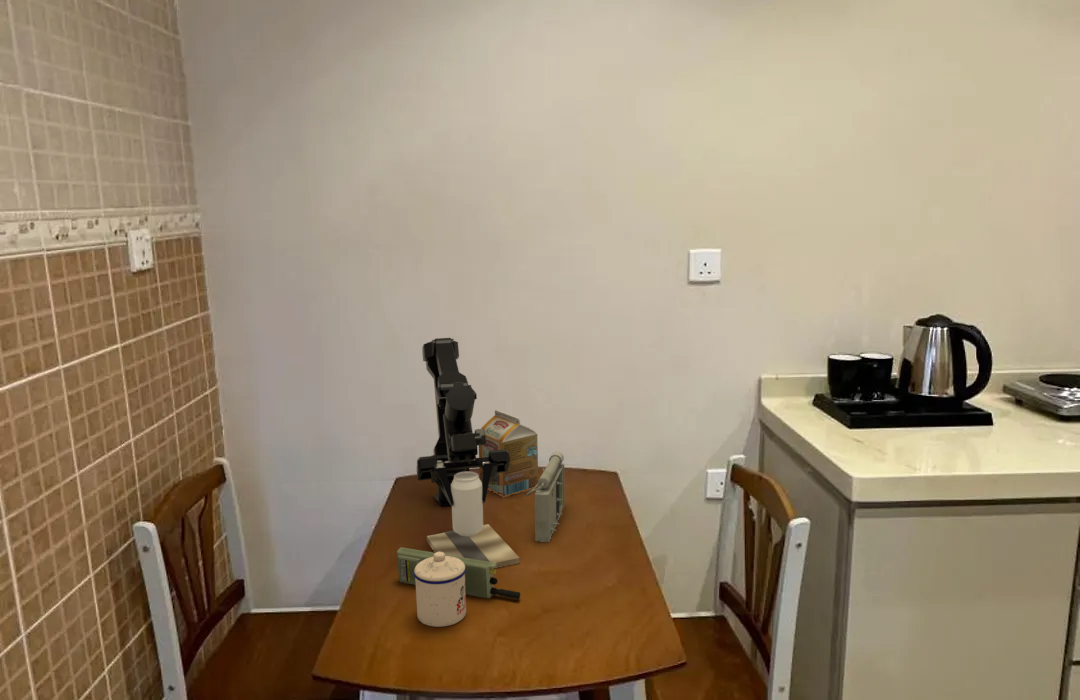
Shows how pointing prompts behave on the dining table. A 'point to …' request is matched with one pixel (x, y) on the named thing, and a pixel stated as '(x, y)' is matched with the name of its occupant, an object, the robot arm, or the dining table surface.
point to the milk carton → (511, 453)
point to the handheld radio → (475, 576)
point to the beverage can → (467, 503)
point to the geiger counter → (549, 498)
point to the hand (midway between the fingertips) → (468, 503)
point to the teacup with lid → (440, 590)
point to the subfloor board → (475, 546)
